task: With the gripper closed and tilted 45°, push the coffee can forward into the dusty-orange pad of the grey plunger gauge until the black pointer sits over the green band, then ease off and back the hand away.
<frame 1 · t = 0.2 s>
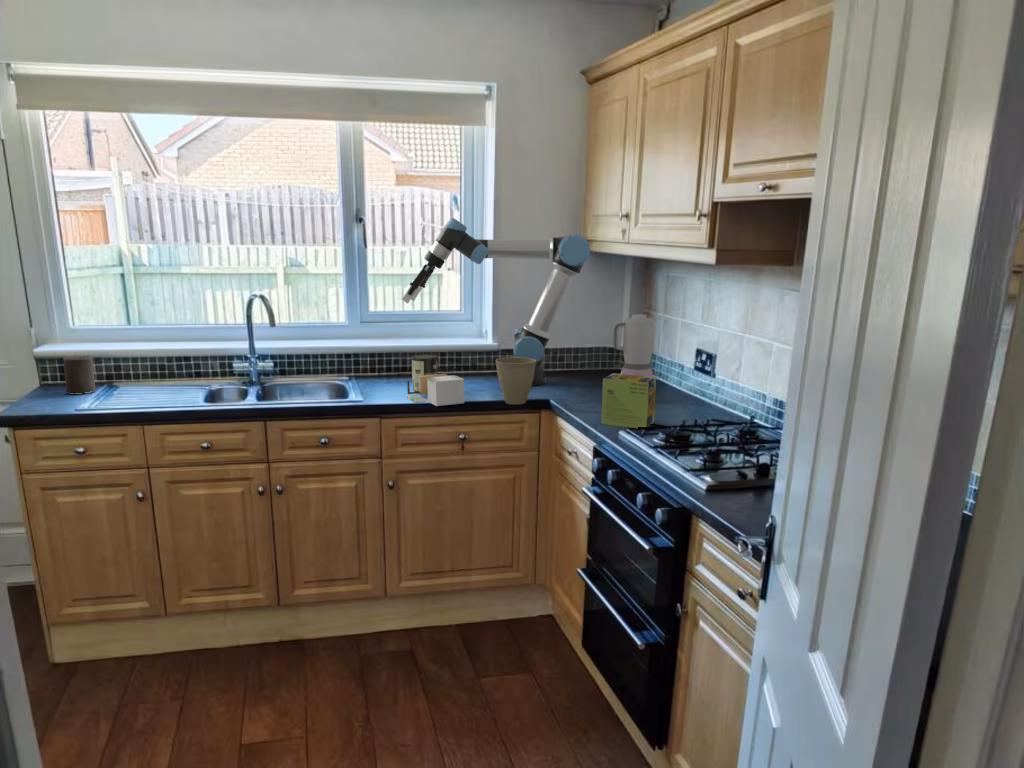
hand: (407, 300, 274), 35 cm above the table, tool tilted 35°, fingers open, 13 cm apart
gauge frame: (432, 395, 268), on the table
plant pot: (515, 402, 257), on the table
gauge plunger: (430, 386, 263), point 4 cm above the table, slide at 0.0 cm
blender: (631, 399, 264), on the table
protein box: (627, 424, 229), on the table
pillar candle: (81, 392, 270), on the table
coffee can: (425, 391, 275), on the table
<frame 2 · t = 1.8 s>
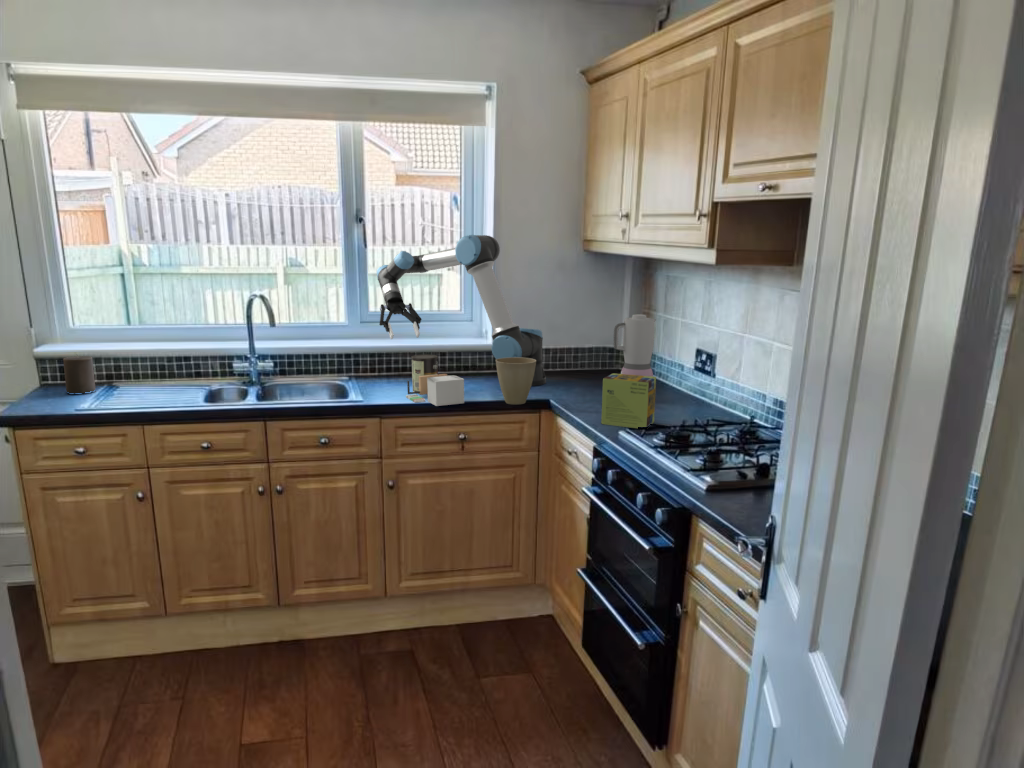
hand: (405, 336, 291), 19 cm above the table, tool tilted 45°, fingers open, 11 cm apart
nothing on the table moved.
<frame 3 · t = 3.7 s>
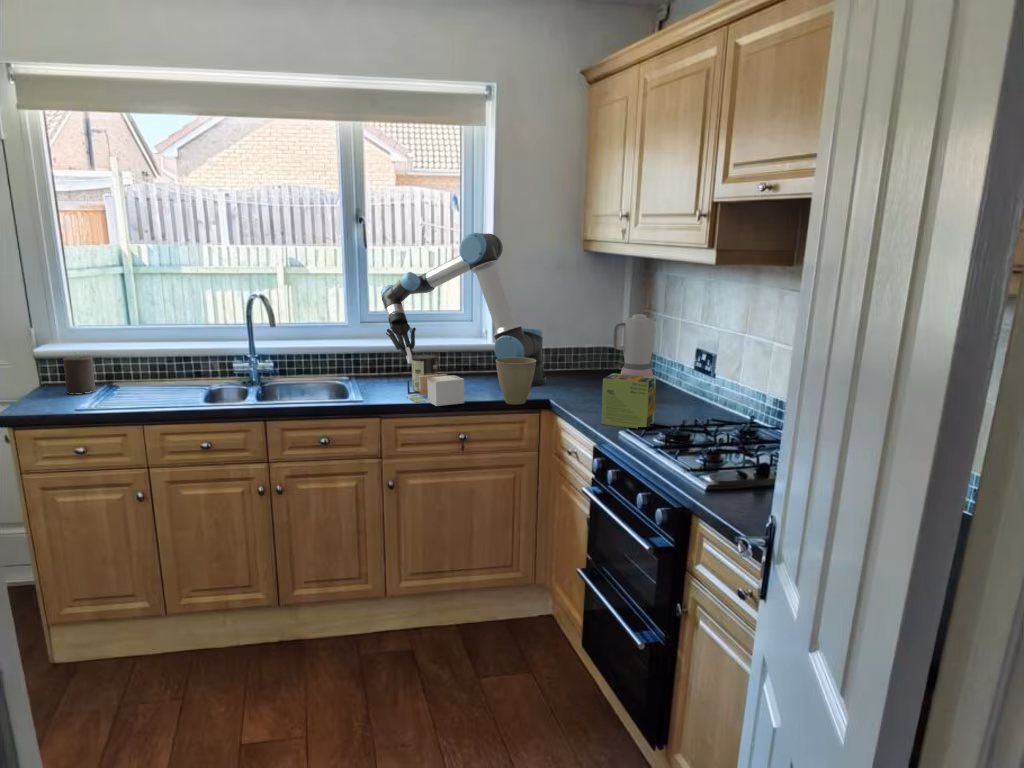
hand: (410, 361, 286), 10 cm above the table, tool tilted 45°, fingers closed
nothing on the table moved.
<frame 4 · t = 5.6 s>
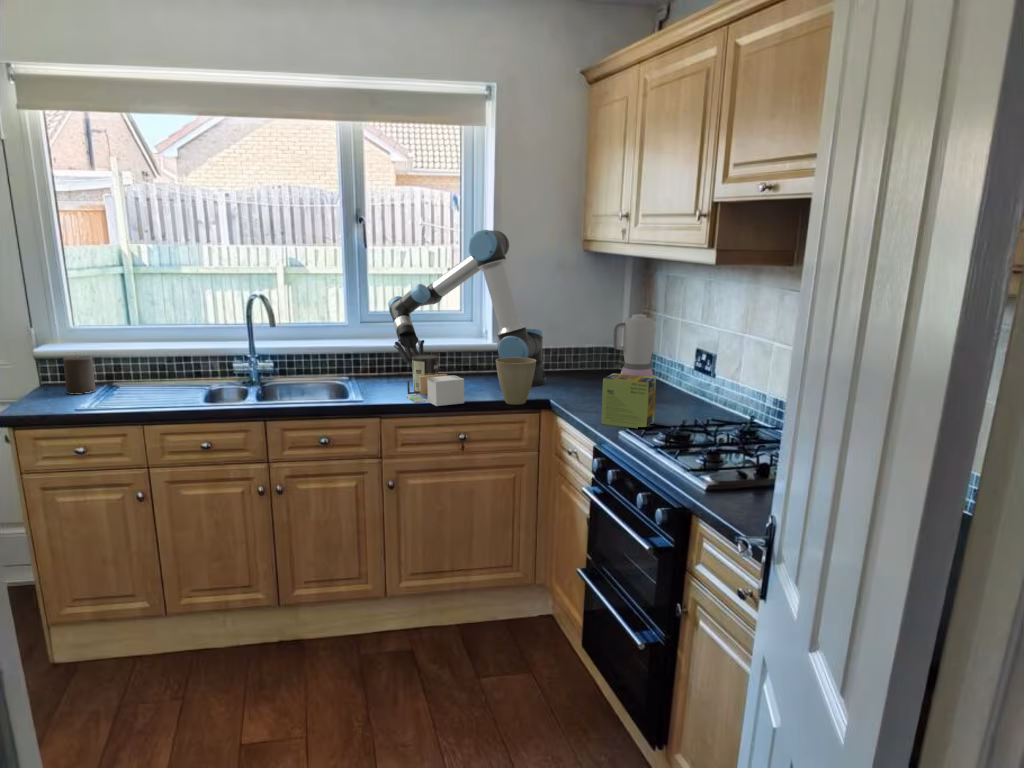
hand: (419, 375, 279), 6 cm above the table, tool tilted 45°, fingers closed
coffee can: (425, 392, 275), on the table, touching gripper
everything else where it was.
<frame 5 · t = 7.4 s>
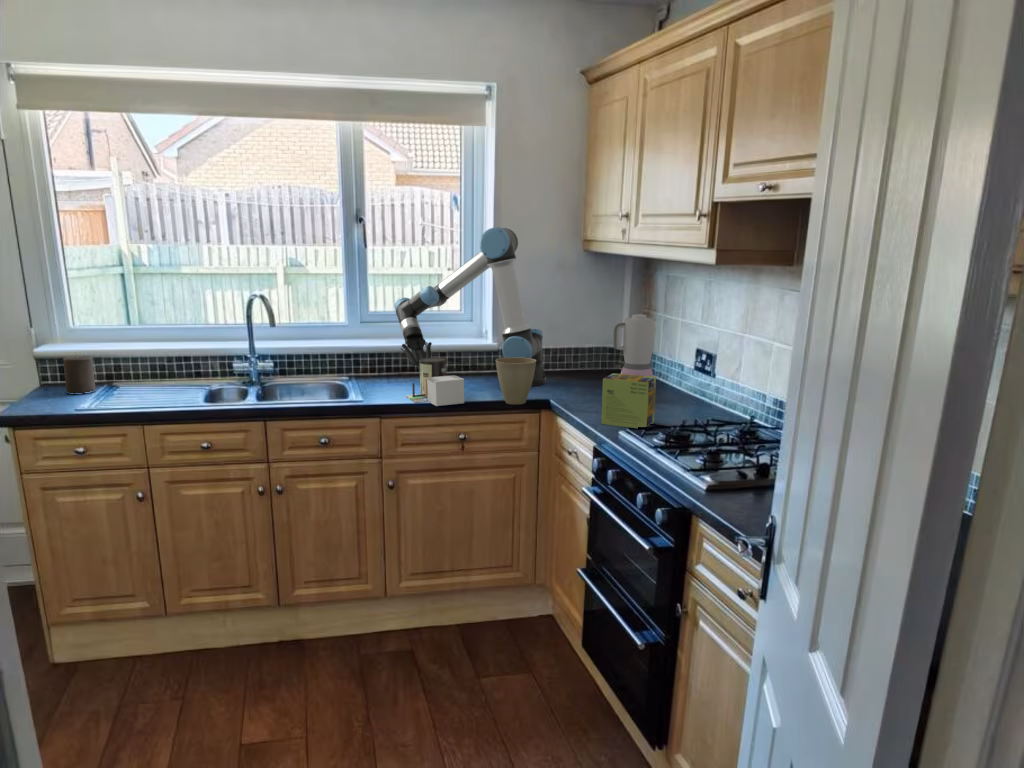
hand: (427, 378, 272), 6 cm above the table, tool tilted 45°, fingers closed
gauge plunger: (435, 388, 258), point 4 cm above the table, slide at 5.6 cm, touching coffee can
coffee can: (433, 395, 268), on the table, touching gauge plunger, gripper
everything else where it was.
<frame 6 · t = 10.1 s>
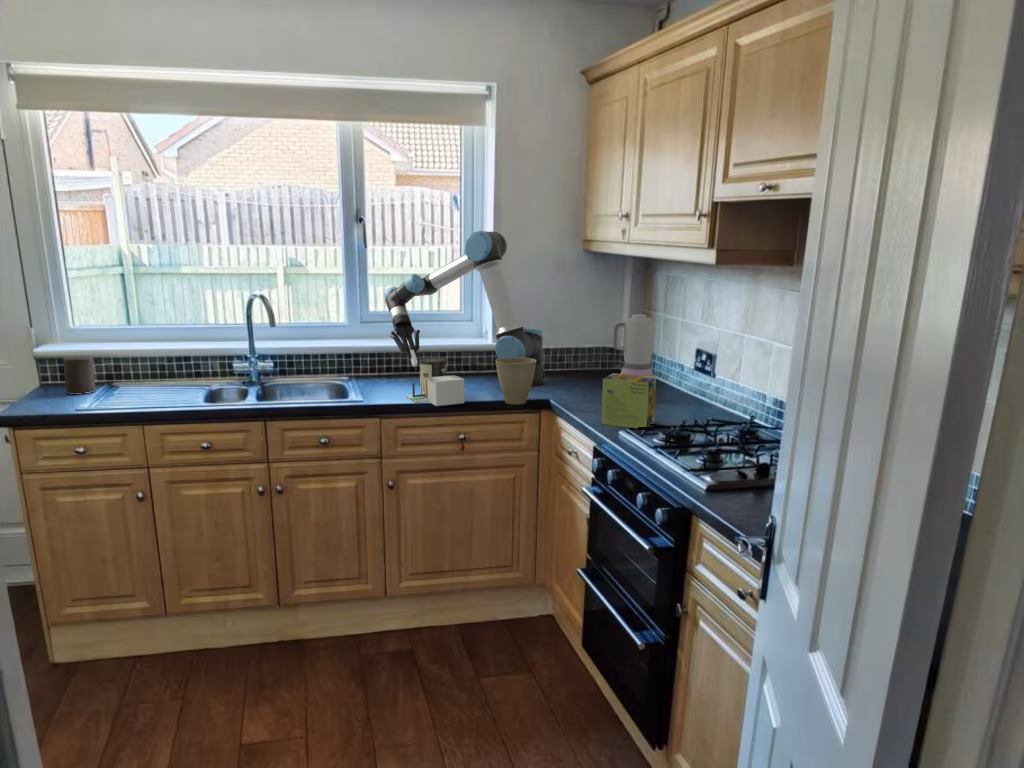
hand: (415, 364, 283), 9 cm above the table, tool tilted 45°, fingers closed
gauge plunger: (435, 388, 258), point 5 cm above the table, slide at 5.6 cm
coffee can: (433, 396, 268), on the table
everything else where it was.
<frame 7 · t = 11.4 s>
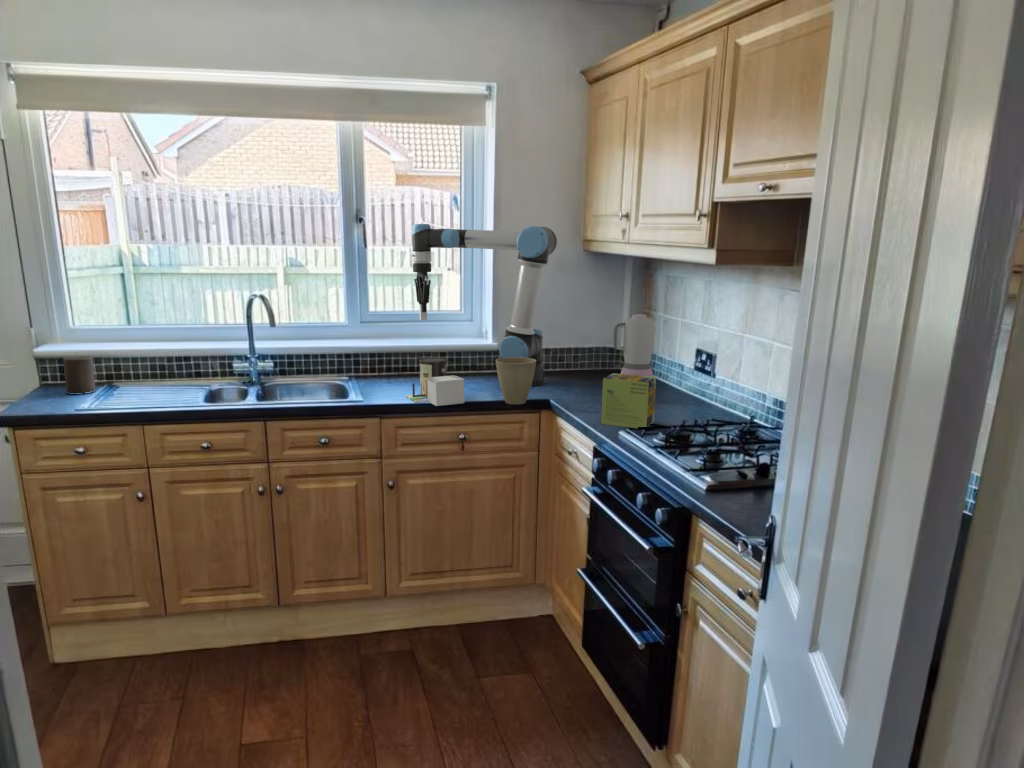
hand: (423, 319, 290), 26 cm above the table, tool pointing down, fingers closed
nothing on the table moved.
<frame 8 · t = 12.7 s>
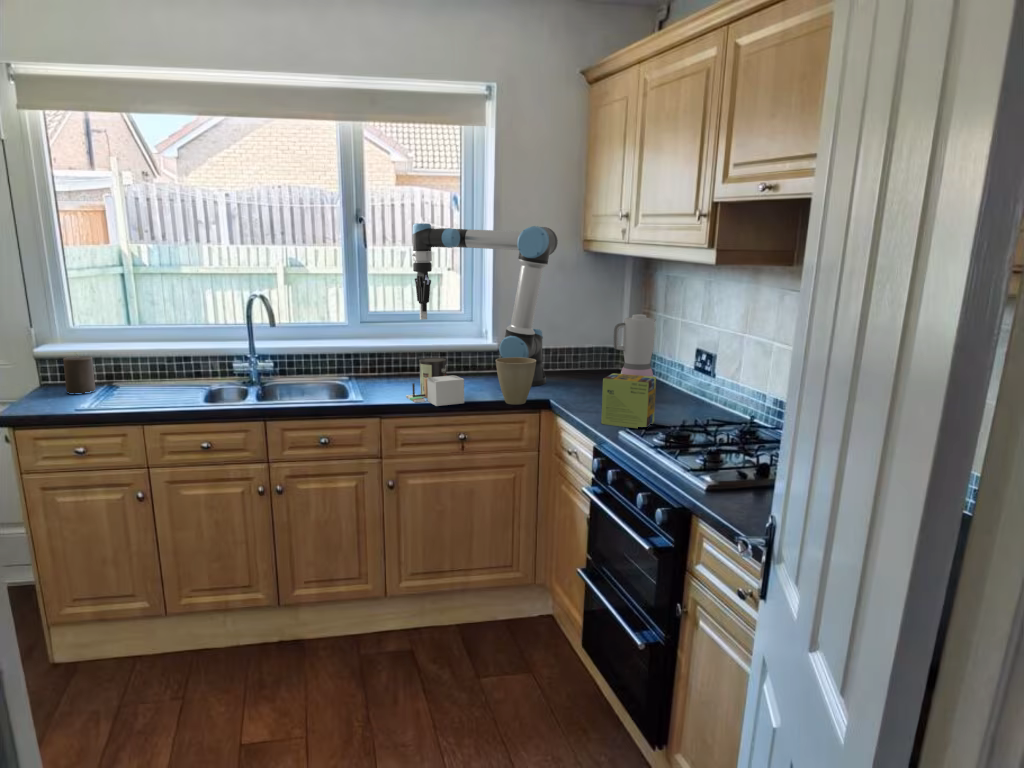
hand: (423, 319, 290), 26 cm above the table, tool pointing down, fingers closed
nothing on the table moved.
at the end: gauge plunger slide at 5.6 cm; coffee can tilted 0°; coffee can inside the target area (1.0 cm from its centre), on the table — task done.
